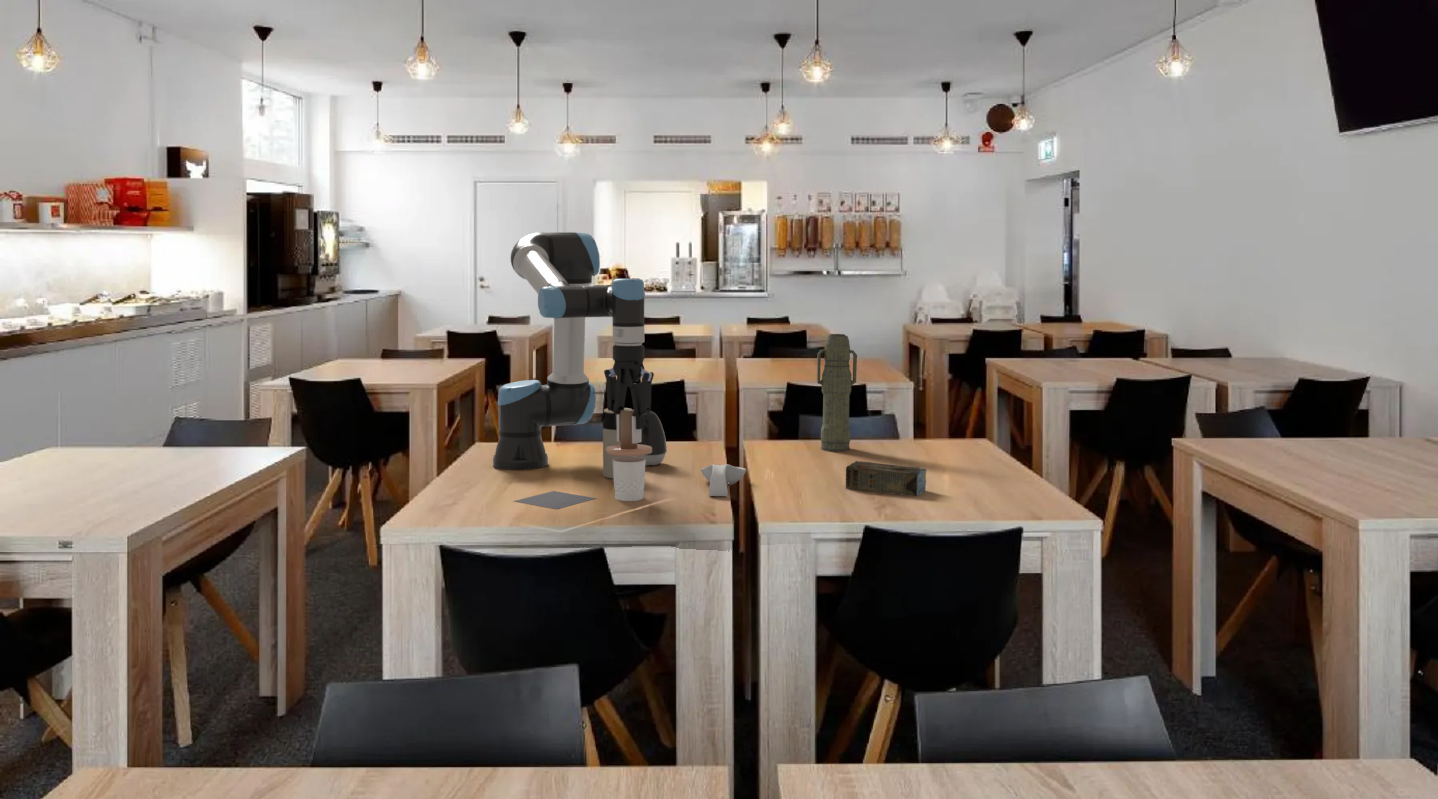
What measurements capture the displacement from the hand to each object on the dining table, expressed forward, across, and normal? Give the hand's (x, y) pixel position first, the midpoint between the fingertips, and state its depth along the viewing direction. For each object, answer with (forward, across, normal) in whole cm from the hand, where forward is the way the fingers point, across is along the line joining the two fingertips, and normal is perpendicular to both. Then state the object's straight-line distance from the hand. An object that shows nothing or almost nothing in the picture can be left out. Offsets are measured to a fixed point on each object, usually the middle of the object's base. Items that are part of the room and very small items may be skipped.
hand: (629, 441), depth 263 cm
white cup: (+15, 0, 0) cm, 15 cm away
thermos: (+14, +7, +91) cm, 92 cm away
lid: (+3, 0, 0) cm, 3 cm away
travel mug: (+14, -20, +20) cm, 32 cm away
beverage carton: (+15, +45, +47) cm, 67 cm away
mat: (+14, -13, -12) cm, 23 cm away
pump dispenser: (+14, -24, +38) cm, 47 cm away
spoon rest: (+15, +10, +25) cm, 31 cm away
